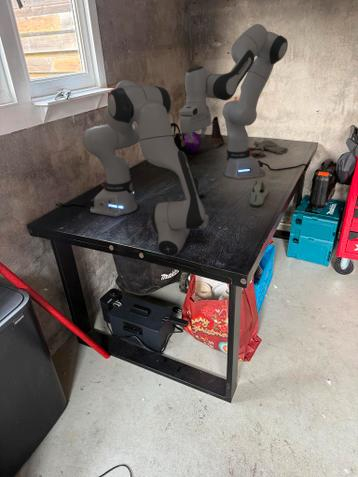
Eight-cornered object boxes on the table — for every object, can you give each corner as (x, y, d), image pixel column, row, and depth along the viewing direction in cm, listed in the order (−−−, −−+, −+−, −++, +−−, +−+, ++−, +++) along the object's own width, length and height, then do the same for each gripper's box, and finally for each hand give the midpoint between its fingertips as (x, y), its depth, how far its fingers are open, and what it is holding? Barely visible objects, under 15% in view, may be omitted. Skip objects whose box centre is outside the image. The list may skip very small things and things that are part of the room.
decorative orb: (204, 151, 235) (204, 129, 228) (194, 156, 225) (193, 134, 217) (186, 149, 243) (186, 128, 235) (175, 154, 232) (174, 132, 224)
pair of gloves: (252, 159, 212) (252, 151, 209) (231, 150, 233) (231, 143, 230) (289, 152, 222) (290, 144, 219) (266, 144, 242) (267, 137, 240)
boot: (224, 140, 260) (225, 113, 250) (221, 148, 240) (222, 119, 230) (213, 140, 262) (213, 113, 252) (210, 148, 242) (209, 119, 232)
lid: (190, 197, 165) (190, 193, 164) (195, 193, 169) (195, 189, 168) (199, 199, 162) (199, 195, 161) (205, 195, 166) (205, 191, 165)
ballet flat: (269, 188, 169) (270, 173, 165) (265, 208, 149) (266, 191, 145) (252, 187, 171) (253, 172, 167) (246, 206, 151) (247, 190, 147)
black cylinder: (197, 209, 152) (196, 174, 144) (200, 213, 148) (199, 178, 139) (187, 210, 151) (185, 175, 143) (189, 215, 147) (188, 179, 139)
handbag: (171, 168, 206) (169, 126, 194) (160, 166, 211) (156, 125, 198) (188, 159, 221) (187, 120, 209) (177, 157, 226) (175, 119, 213)
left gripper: (206, 221, 121) (211, 205, 132) (153, 217, 125) (163, 202, 137) (206, 236, 124) (211, 219, 135) (154, 232, 129) (164, 216, 140)
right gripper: (202, 104, 154) (203, 134, 161) (177, 111, 140) (178, 144, 147) (214, 104, 150) (214, 135, 157) (189, 112, 136) (190, 145, 143)
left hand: (187, 211), depth 136 cm, fingers open, 8 cm apart
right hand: (197, 139), depth 152 cm, fingers open, 8 cm apart
